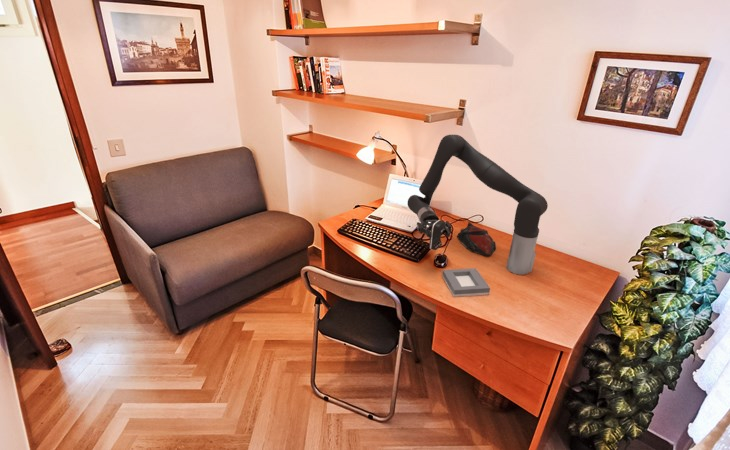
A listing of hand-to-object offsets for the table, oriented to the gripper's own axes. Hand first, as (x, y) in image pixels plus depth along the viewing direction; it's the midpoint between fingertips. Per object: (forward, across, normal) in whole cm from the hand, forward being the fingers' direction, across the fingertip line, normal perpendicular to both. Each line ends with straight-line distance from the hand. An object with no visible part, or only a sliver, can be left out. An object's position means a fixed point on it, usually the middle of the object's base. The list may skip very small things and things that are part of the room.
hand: (439, 235), depth 145 cm
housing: (+10, +9, +18) cm, 22 cm away
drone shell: (-23, +27, +18) cm, 40 cm away
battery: (-2, 0, +7) cm, 7 cm away
